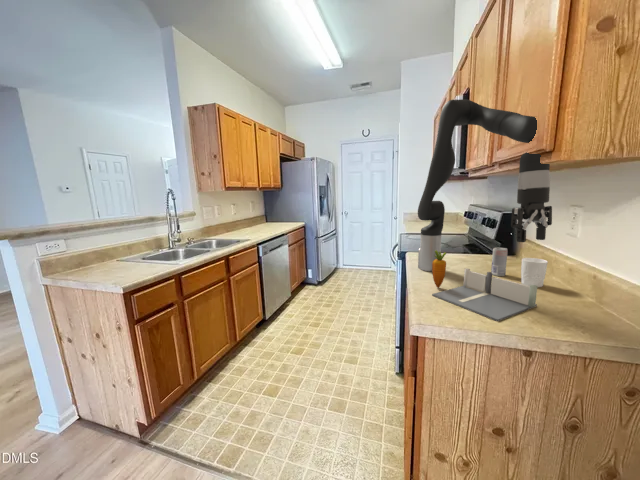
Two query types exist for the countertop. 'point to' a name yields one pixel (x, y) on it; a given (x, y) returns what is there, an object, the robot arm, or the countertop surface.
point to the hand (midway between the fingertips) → (530, 240)
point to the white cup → (533, 271)
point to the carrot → (438, 269)
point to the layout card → (482, 302)
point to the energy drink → (499, 261)
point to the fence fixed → (478, 280)
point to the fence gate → (514, 291)
